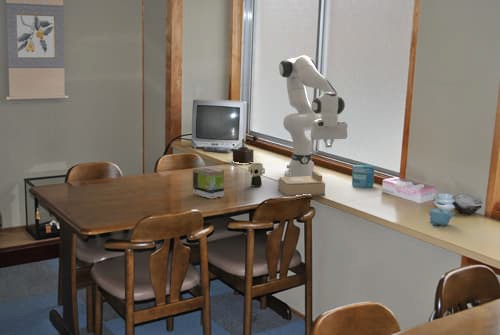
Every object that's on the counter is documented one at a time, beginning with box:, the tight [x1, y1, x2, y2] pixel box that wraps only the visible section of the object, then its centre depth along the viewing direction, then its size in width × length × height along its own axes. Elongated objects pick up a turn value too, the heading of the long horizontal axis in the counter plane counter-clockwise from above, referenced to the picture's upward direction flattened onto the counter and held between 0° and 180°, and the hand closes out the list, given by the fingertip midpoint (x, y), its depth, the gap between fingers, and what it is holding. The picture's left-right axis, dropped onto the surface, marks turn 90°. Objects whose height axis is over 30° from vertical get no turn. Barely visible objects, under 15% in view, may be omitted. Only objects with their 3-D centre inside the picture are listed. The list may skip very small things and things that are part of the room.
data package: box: [351, 164, 375, 189], centre depth 369 cm, size 12×4×12 cm, turn 78°
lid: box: [278, 170, 325, 184], centre depth 352 cm, size 15×21×4 cm
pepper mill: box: [232, 135, 259, 163], centre depth 434 cm, size 16×11×18 cm
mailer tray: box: [277, 178, 326, 198], centre depth 353 cm, size 15×22×6 cm
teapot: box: [428, 208, 456, 228], centre depth 295 cm, size 12×6×8 cm, turn 60°
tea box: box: [192, 166, 225, 199], centre depth 344 cm, size 15×10×15 cm
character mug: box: [247, 162, 266, 187], centre depth 367 cm, size 11×7×13 cm, turn 58°
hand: (328, 147), depth 352 cm, fingers closed
